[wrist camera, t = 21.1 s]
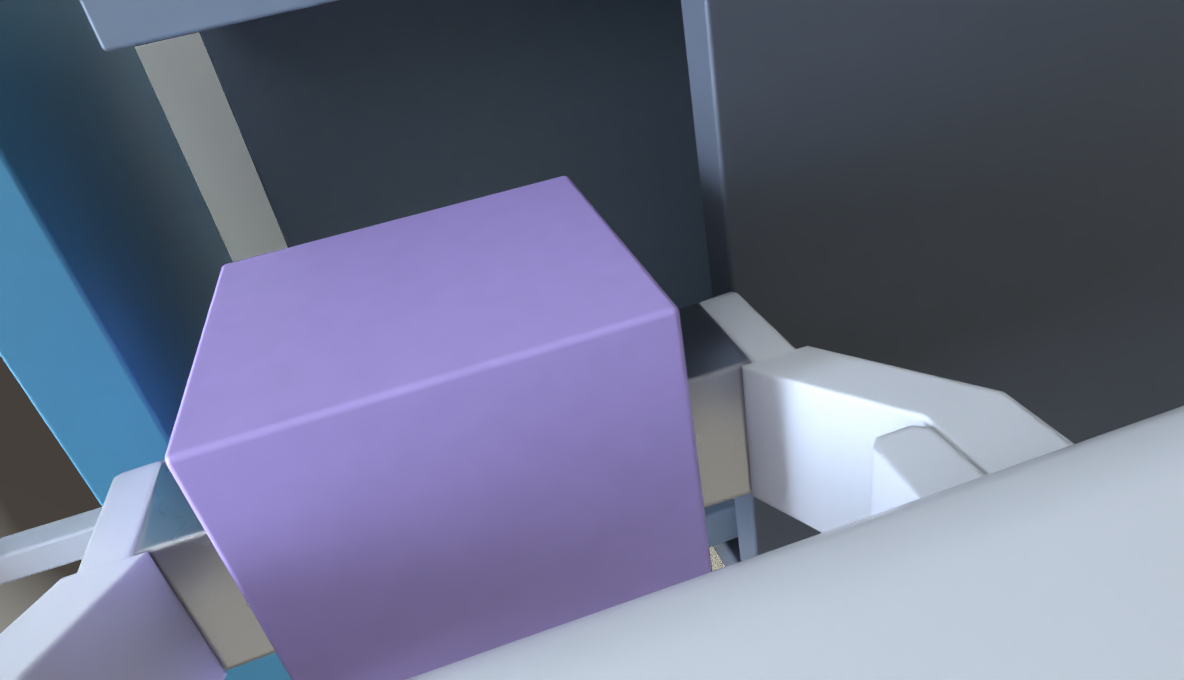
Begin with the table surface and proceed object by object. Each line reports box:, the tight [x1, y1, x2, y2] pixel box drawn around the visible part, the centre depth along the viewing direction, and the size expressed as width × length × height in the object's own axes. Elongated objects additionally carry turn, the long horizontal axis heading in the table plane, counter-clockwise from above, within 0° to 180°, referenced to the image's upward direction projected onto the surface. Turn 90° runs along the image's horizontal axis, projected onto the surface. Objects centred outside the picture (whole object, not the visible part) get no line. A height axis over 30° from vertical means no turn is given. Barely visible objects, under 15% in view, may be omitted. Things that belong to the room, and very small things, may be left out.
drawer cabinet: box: [681, 0, 1184, 567], centre depth 16 cm, size 15×14×9 cm
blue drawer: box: [0, 0, 738, 680], centre depth 14 cm, size 19×12×7 cm, turn 100°
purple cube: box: [165, 176, 712, 680], centre depth 9 cm, size 4×4×4 cm
